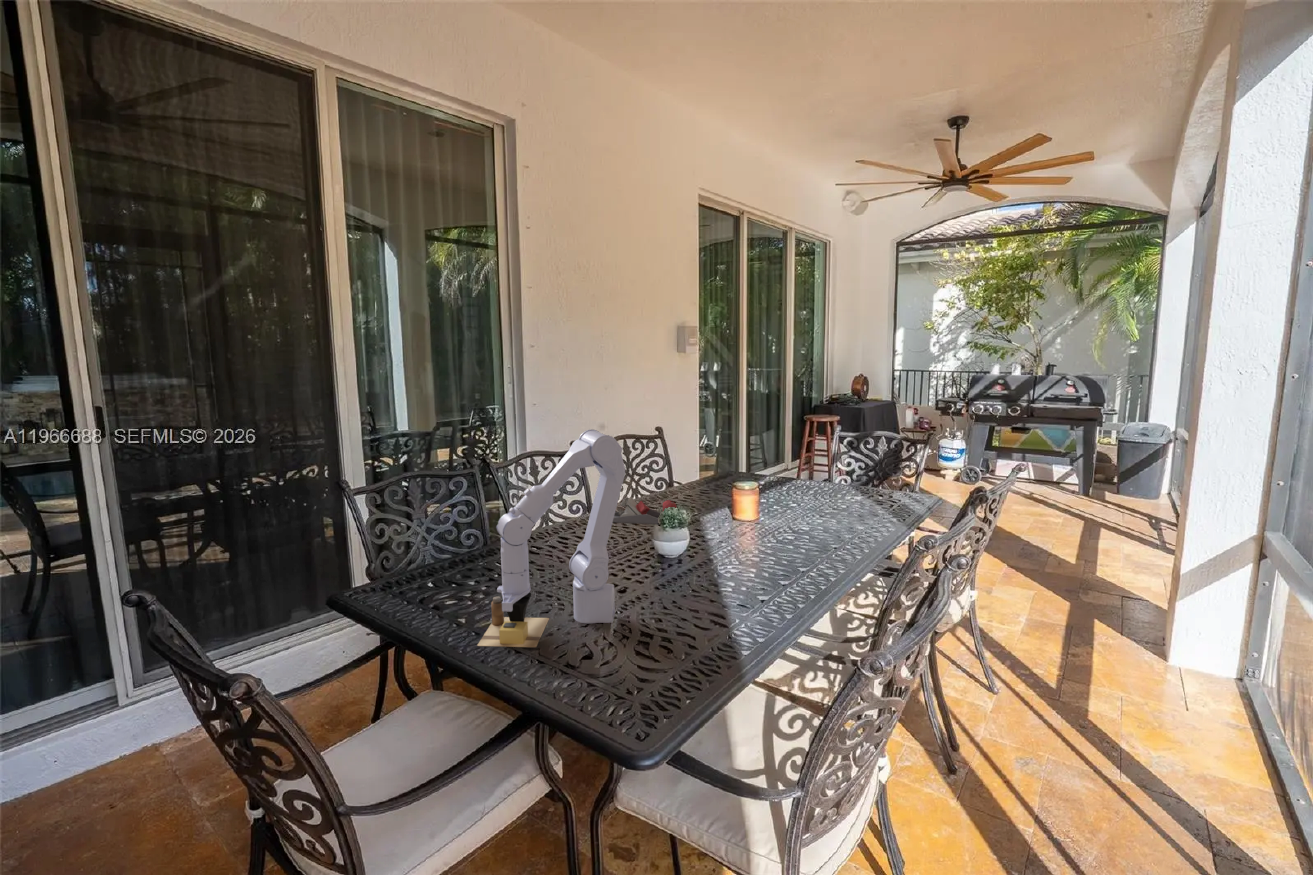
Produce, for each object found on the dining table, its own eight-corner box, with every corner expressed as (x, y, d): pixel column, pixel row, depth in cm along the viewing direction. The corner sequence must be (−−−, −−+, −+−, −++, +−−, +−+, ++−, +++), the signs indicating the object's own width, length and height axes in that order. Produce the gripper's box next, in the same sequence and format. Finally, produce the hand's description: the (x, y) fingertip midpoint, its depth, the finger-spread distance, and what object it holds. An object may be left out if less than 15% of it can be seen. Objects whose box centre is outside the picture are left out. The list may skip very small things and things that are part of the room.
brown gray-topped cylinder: (505, 620, 139) (504, 595, 138) (502, 626, 137) (501, 600, 136) (494, 620, 139) (492, 595, 138) (490, 625, 137) (489, 600, 136)
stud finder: (528, 634, 133) (527, 620, 132) (523, 644, 129) (522, 629, 128) (505, 634, 133) (504, 620, 132) (499, 643, 129) (499, 629, 128)
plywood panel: (549, 622, 141) (549, 618, 140) (536, 652, 128) (536, 647, 128) (495, 621, 141) (495, 616, 141) (477, 651, 128) (476, 645, 128)
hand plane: (592, 516, 221) (591, 475, 219) (677, 519, 218) (677, 478, 215) (587, 522, 215) (586, 480, 212) (675, 525, 211) (675, 483, 208)
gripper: (506, 555, 139) (508, 612, 141) (486, 582, 124) (489, 644, 127) (537, 556, 138) (539, 612, 141) (520, 582, 124) (522, 644, 126)
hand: (517, 627), depth 134 cm, fingers closed
